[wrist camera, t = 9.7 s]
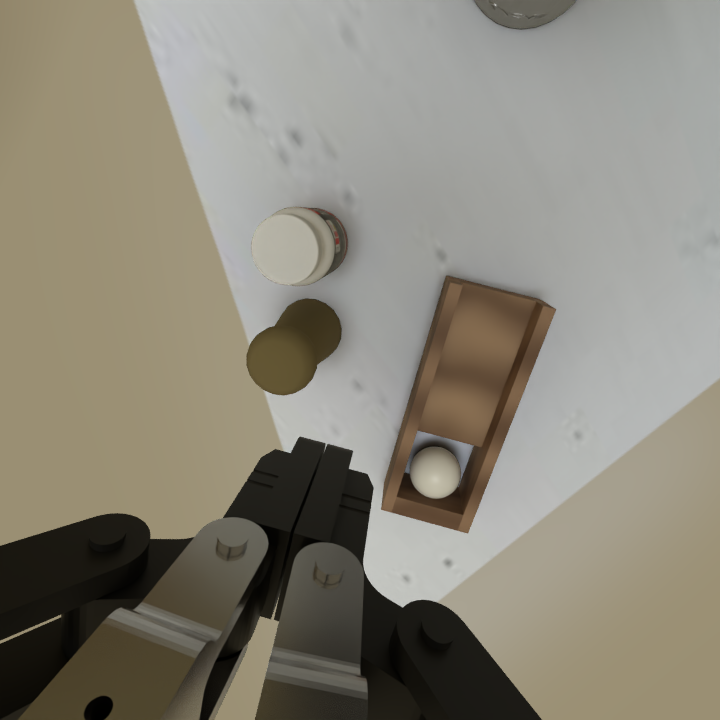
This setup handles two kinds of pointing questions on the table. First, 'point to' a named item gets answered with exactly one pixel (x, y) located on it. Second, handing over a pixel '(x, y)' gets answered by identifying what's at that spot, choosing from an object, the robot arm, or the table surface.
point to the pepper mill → (293, 347)
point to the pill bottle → (299, 245)
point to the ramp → (467, 392)
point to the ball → (435, 472)
